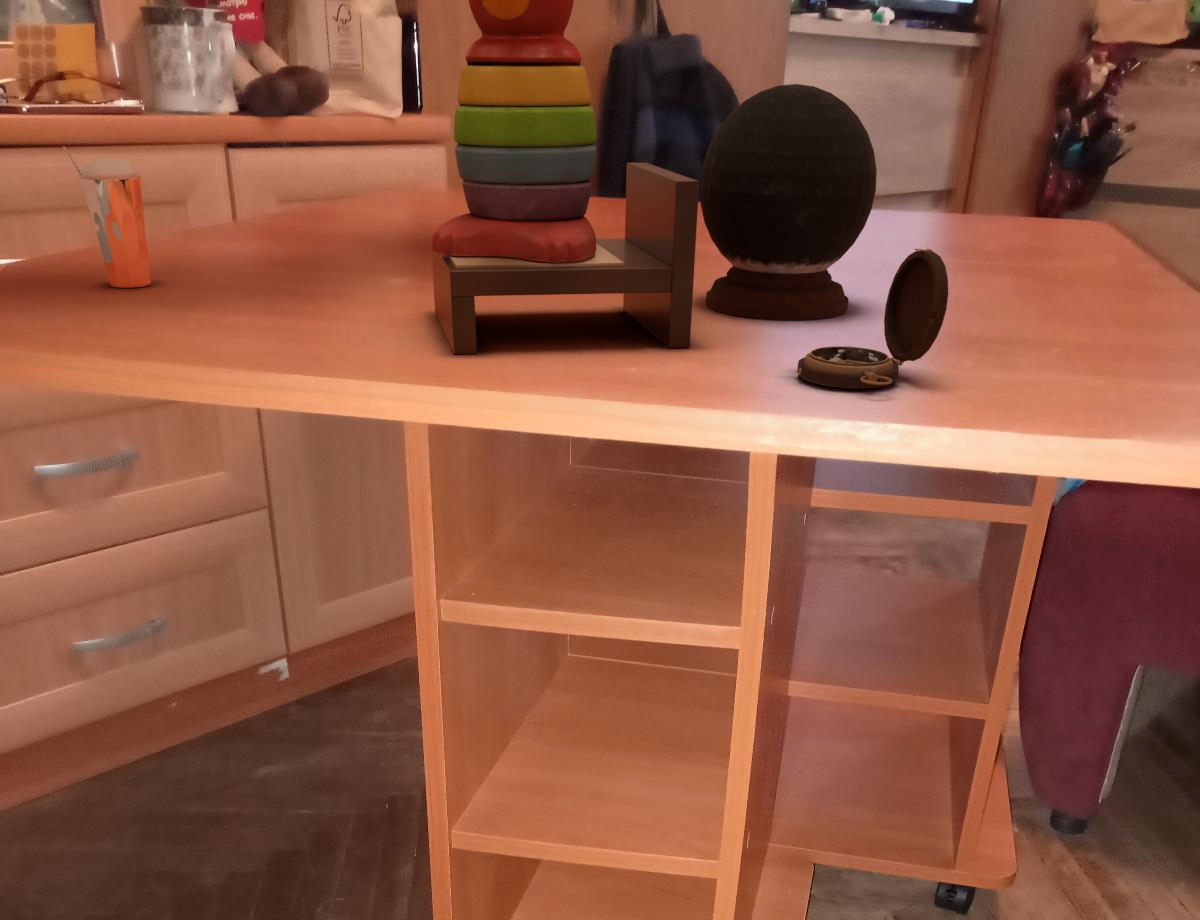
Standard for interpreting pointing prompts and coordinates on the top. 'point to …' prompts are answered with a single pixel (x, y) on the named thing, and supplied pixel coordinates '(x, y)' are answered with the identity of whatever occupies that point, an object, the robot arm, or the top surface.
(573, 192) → the stacking bear
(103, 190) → the milkshake
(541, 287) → the dollhouse bed
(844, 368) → the compass
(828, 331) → the top surface
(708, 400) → the top surface
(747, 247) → the dark ball on base
